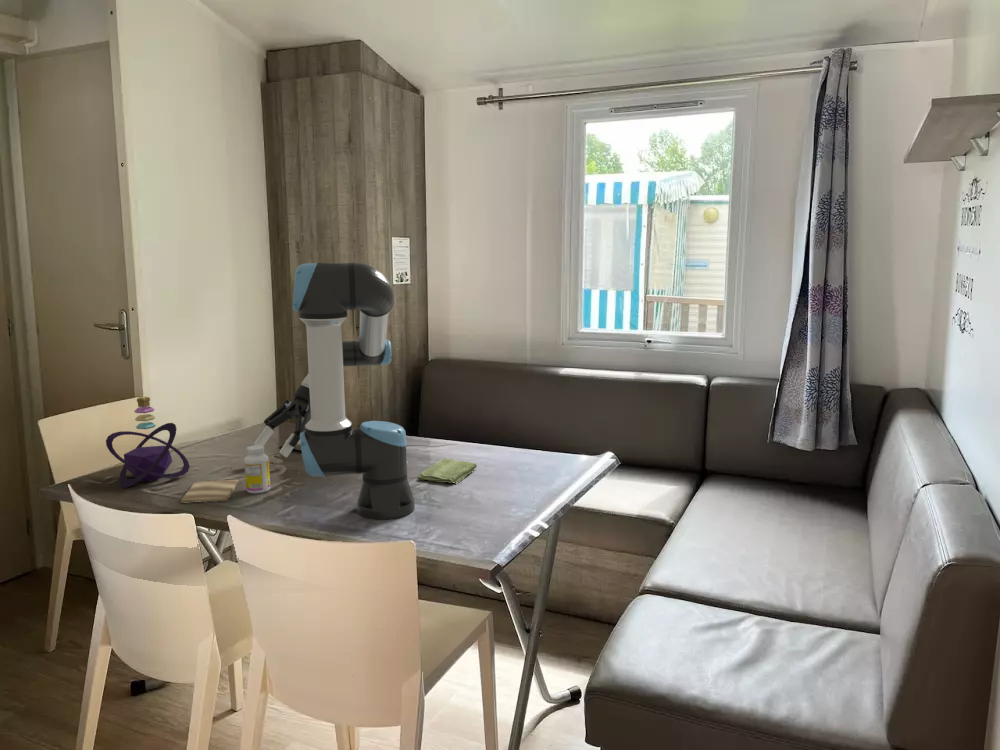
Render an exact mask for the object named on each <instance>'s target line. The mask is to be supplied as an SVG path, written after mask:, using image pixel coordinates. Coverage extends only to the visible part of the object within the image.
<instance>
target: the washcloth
mask: <svg viewBox="0 0 1000 750" xmlns="http://www.w3.org/2000/svg"><path fill="white" fill-rule="evenodd" d="M477 467H478V465H477V463H476V462H472V461H471V462H470V461H464V460H461V461H460V460H455V459H452V458H451V459H450V458H448V457H447V458H446V457H443V458H442V459H440V460H439V461H438V462H435V463H434V464H433V465H431V466H430V467H428V468H426V469H425V470H423V471H421V473H420V474H418V476H417V479H418V480H420V481H424V480H428V481H427V482H433V481H434V483H445V482H449V483H448V484H452V483H453V482H455V483H457V482H459V481H461V480H462V479H463V478H464V479H466V478H467V477H468V476H469V475H468V474H470V473H471V472H472V471H473V470H474V469H475V468H476V469H477ZM472 473H473V472H472ZM472 473H471V474H472ZM471 474H470V475H471ZM467 475H468V476H467ZM466 476H467V477H466ZM465 477H466V478H465ZM464 479H463V480H464ZM463 480H462V481H463ZM459 483H460V482H459Z"/></svg>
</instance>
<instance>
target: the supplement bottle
mask: <svg viewBox="0 0 1000 750" xmlns="http://www.w3.org/2000/svg"><path fill="white" fill-rule="evenodd" d="M246 453H247V455H246V456H245V457H244V460H243V464H244V474H245V475H244V477H245V489H246V492H247V493H248V494H249V493H250V494H262V493H267V492H268V491H269V490H270V489H271V476H270V475H271V474H270V472H271V471H270V461H269V456H268V454H266V453H265V445H264V446H263V445H255V444H253V445H248V446H247V447H246Z"/></svg>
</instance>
